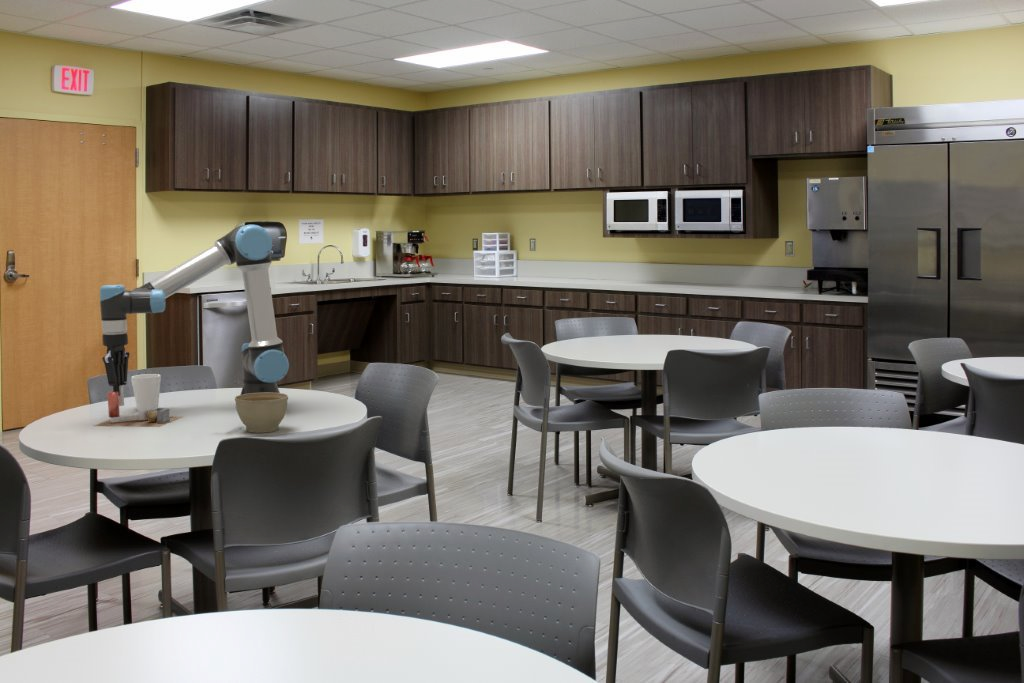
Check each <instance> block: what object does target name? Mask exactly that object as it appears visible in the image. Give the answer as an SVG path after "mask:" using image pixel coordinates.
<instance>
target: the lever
mask: <svg viewBox="0 0 1024 683" xmlns="http://www.w3.org/2000/svg"><path fill="white" fill-rule="evenodd" d="M107 407H108V408H107V409H108V410H107V411H108V418H109V419H111V422H121V421H132V420H148V419H147V415H148V413H149V411H148V410H137V413H130V414H120V406H119V395H118V391H112V390H111V391H107ZM154 411H155V412H157V410H154Z"/></svg>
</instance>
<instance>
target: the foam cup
mask: <svg viewBox="0 0 1024 683" xmlns="http://www.w3.org/2000/svg"><path fill="white" fill-rule="evenodd" d="M161 377H162V376H161V374H159V373H158V374H156V373H146V374H145V373H144V374H136V375H132V376H131V378H130V379H131V385H132V389H133V390H132V391H133V394H134V399H135V400H134V401H135V404H136V410H137V411H140V410H148V412H150V411H157V409H158V408H159V402H160V400H159V399H160V390H161V382H162V378H161Z"/></svg>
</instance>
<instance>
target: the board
mask: <svg viewBox="0 0 1024 683" xmlns="http://www.w3.org/2000/svg"><path fill="white" fill-rule="evenodd" d="M161 409H164V408H162V407H158V409H156V411H159V410H161ZM182 418H183V416H177V415H176V416H171V415H170V421H169V422H166V423H164V424H157V421H156V422H150V421H148V420H132V421H121V422H111V418H109V419H107V420H105V421H102V422H99V423H97V424H94V425H93V427H134V428H135V427H137V428H140V427H145V428H148V427H149V428H160V427H162V426H165V425H167V424H169V423H172V422H175V421H177V420H179V419H182Z"/></svg>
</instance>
